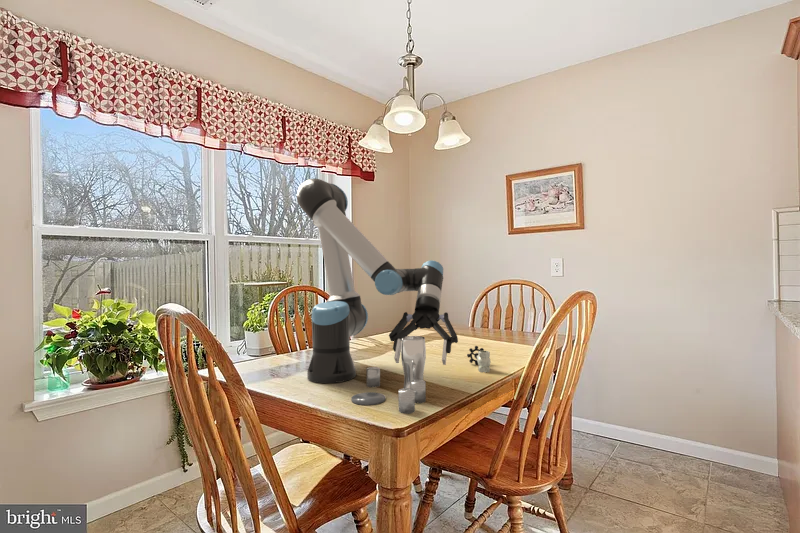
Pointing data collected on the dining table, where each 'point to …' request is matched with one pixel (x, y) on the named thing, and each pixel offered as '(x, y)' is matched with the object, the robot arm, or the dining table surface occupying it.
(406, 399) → the cylinder
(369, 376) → the spacer
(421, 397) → the cylinder
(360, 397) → the coaster
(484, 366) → the valve
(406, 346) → the beer glass
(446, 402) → the dining table surface
